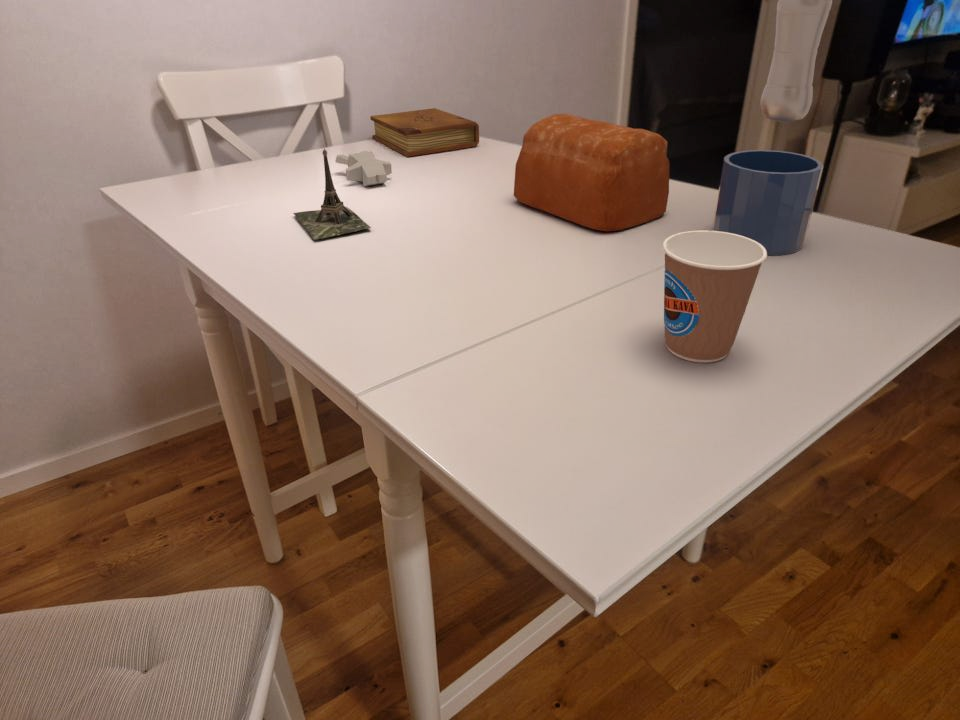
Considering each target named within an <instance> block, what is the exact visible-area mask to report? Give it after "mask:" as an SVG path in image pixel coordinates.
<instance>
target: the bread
mask: <svg viewBox="0 0 960 720" xmlns="http://www.w3.org/2000/svg"><path fill="white" fill-rule="evenodd" d="M667 153H668V141H667V140H666V139H665V138H664V137H663V136H662V135H661V134H659V133H657V132H653V131H651V130H648V129H644V128H632V127H630V126H629V127H628V126H625V125H624V126H623V125H620V124H615V123H612V122H606V121H602V120H595V119H588V118H586V117H582V116H577V115H573V114H569V113H556V114H555V113H554V114H552V115H549V116H546V117H544V118H541V119H540V120H538V121H536V122H535V123H533V124H532V125H531V126H530V128H529V129H528V130H527V131H526V132H525V133H524V134H523V137H522V145H521V148H520V150H519V154H518V157H517V160H516V162H515V169H514V170H515V171H514V184H513V196H514V198H515V199H516V200H517V201H518V202H519V203H521V204H524V205H526V206H529V207H531V208H533V209H536V210H540V211H543V212H546V213H548V214H551V215H553V216H556V217H559V218H562V219H564V220H566V221H568V222H572V223H575V224H577V225H580V226H582V227H585V228H588V229H591V230H596V231H602V232H613V231H614V232H615V231H622V230H625V229H629V228H632V227H637V226H639V225H643V224H645V223H648V222H650V221H653V220H656V219H658V218H660V217H662V216H663V215H664V214H665V213H666V211H667V206H668V201H669V194H670V160H669V158H668V157H667Z"/></svg>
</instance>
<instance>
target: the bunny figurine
mask: <svg viewBox="0 0 960 720" xmlns="http://www.w3.org/2000/svg"><path fill="white" fill-rule="evenodd" d="M334 162H335V163H336V164H342V165H346V166H347V168H346V169H345V175H346V181H349V182H350V181H352V182H361V183H362V186H363V187H369V186H375V185H381V184H385V183H387V182H388V177H387V176H390V175H392V162H390V161H385V160H381V159H377V158H376V156H375V153H374V152H373V151H371V150H370V151H369V150H362V151H360V152H356V153H350V154H348V155H346V154H337V155H336V157H335V161H334Z"/></svg>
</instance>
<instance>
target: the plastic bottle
mask: <svg viewBox="0 0 960 720" xmlns="http://www.w3.org/2000/svg"><path fill="white" fill-rule="evenodd" d="M832 6H833V0H778V1H777V4H776V15H775V16H776V17H775V37H774V44H773V46H774V50H773V53H772V59H771V64H770V68H769V72H768V76H767V80H766V84H765V85H764V86H763V89H762V93H761V97H760V100H759V101H760V102H759V112H760V113H761V116H762V117H763V118H765V119H768V120H772V121H775V122H779V123H787V122H793V121H798V120H803V119H804V118H806V116H807V114H809V111H810V109H811V106H812V104H813V98H814V97H813V95H814V87H813V82H814V76H815V75H814V74H815V67H816V59H817V55H818V48H819V47H820V43H821V39H822V35H823V32H824V29H825V26H826V24H827V21H828V18H829V15H830V11H831V9H832Z"/></svg>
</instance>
